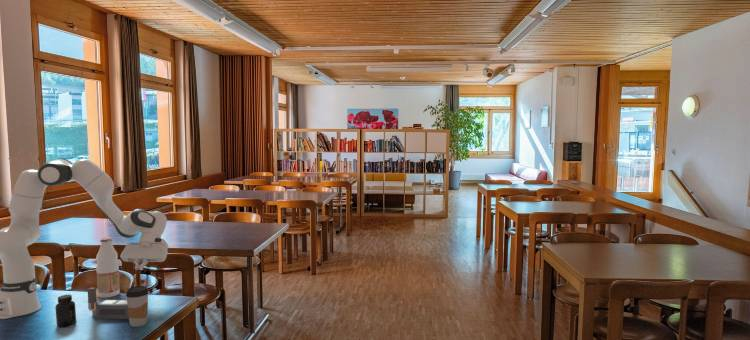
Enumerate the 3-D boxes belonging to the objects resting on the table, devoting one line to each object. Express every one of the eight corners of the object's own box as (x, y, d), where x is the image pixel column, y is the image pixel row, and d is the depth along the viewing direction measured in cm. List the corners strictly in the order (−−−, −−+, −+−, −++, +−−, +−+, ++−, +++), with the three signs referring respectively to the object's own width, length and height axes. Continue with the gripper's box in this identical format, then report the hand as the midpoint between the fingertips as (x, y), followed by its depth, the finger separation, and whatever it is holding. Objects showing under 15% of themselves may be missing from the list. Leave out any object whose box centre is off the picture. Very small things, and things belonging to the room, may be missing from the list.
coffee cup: (140, 329, 187) (138, 292, 185) (122, 327, 188) (120, 291, 187) (154, 320, 195) (152, 286, 194) (136, 319, 196) (135, 284, 195)
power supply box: (87, 318, 197) (87, 301, 197) (97, 313, 203) (96, 296, 203) (128, 319, 196) (127, 301, 196) (136, 313, 203) (136, 296, 202)
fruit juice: (98, 299, 220) (96, 241, 218) (96, 294, 228) (93, 238, 226) (121, 295, 226) (118, 239, 224) (118, 290, 233) (115, 235, 231)
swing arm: (90, 297, 200) (90, 278, 200) (98, 296, 202) (98, 277, 201) (88, 311, 185) (87, 290, 184) (97, 309, 186) (96, 289, 185)
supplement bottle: (73, 320, 196) (71, 292, 195) (78, 324, 192) (77, 295, 191) (54, 325, 191) (52, 296, 190) (59, 329, 186) (58, 300, 185)
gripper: (124, 239, 217) (112, 265, 208) (167, 239, 216) (157, 265, 207) (130, 246, 222) (119, 272, 213) (172, 246, 221) (162, 272, 212)
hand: (138, 269), depth 210 cm, fingers closed
